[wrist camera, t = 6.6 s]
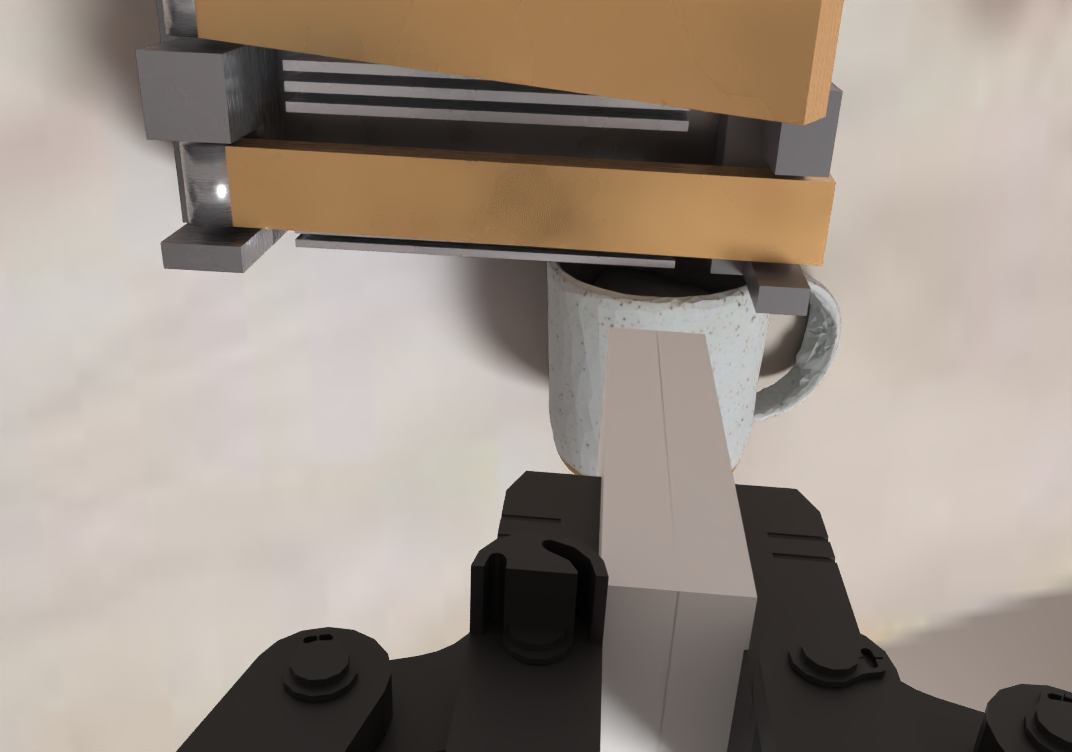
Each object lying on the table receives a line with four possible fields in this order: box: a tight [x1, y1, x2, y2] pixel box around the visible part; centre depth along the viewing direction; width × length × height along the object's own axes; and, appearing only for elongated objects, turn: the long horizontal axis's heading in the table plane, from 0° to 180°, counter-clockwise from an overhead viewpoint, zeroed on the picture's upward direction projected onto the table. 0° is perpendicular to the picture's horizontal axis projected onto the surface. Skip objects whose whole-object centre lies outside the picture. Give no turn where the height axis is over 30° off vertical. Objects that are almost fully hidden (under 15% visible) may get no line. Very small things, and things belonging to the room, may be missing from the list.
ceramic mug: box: [547, 256, 841, 476], centre depth 35 cm, size 11×8×8 cm
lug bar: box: [707, 82, 843, 316], centre depth 28 cm, size 2×10×5 cm, turn 178°
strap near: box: [162, 0, 844, 125], centre depth 23 cm, size 19×2×2 cm, turn 87°
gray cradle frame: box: [135, 0, 720, 273], centre depth 31 cm, size 20×10×9 cm, turn 88°
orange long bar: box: [179, 138, 836, 266], centre depth 29 cm, size 19×2×2 cm, turn 88°
